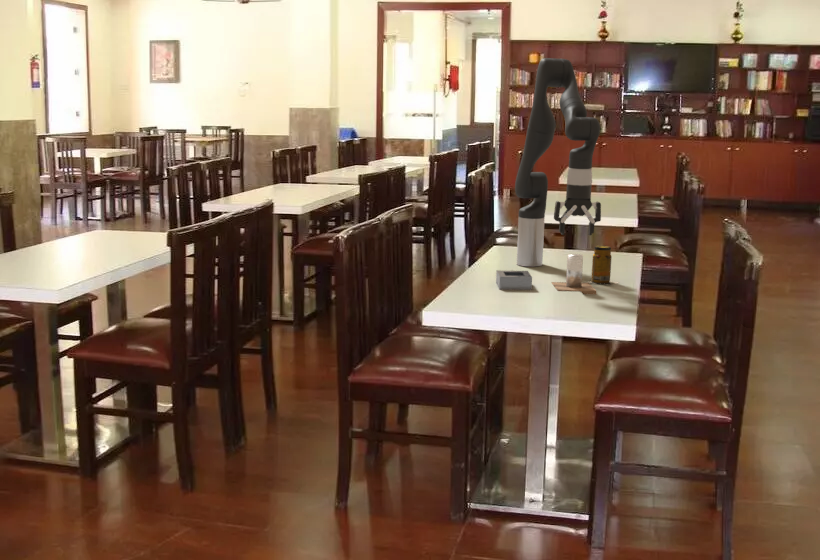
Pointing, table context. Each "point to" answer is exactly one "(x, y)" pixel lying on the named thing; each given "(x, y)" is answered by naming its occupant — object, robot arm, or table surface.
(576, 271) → the plug
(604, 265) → the condiment
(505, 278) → the housing
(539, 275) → the table surface
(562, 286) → the board
